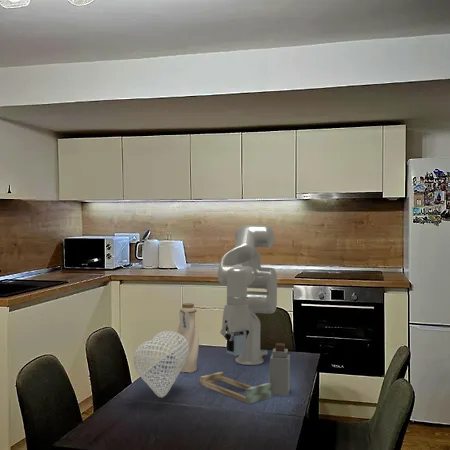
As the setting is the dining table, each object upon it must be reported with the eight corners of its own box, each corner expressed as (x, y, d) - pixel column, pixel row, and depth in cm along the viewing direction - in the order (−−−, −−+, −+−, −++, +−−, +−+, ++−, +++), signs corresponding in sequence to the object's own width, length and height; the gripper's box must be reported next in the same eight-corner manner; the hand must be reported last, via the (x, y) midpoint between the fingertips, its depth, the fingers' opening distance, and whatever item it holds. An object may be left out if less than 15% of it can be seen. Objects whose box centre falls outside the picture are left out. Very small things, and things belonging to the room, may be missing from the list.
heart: (170, 412, 183) (171, 346, 183) (126, 408, 187) (127, 343, 186) (193, 386, 211) (193, 328, 210) (154, 383, 214) (155, 326, 213)
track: (221, 379, 221) (221, 366, 220) (271, 397, 199) (271, 383, 199) (199, 384, 213) (199, 371, 213) (248, 403, 192) (249, 389, 192)
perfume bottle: (287, 395, 201) (288, 346, 201) (269, 394, 202) (270, 345, 202) (289, 390, 208) (290, 342, 207) (271, 388, 209) (272, 341, 209)
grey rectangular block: (236, 351, 209) (237, 332, 208) (245, 353, 205) (245, 334, 205) (226, 353, 205) (226, 334, 205) (235, 355, 202) (235, 336, 201)
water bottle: (197, 374, 227) (198, 306, 226) (175, 374, 227) (176, 306, 226) (199, 367, 237) (199, 302, 236) (178, 367, 237) (178, 302, 237)
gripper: (247, 298, 213) (246, 344, 213) (212, 301, 202) (212, 351, 203) (260, 300, 207) (259, 348, 207) (225, 304, 197) (224, 355, 197)
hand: (236, 349), depth 205 cm, fingers closed on grey rectangular block, 5 cm apart
